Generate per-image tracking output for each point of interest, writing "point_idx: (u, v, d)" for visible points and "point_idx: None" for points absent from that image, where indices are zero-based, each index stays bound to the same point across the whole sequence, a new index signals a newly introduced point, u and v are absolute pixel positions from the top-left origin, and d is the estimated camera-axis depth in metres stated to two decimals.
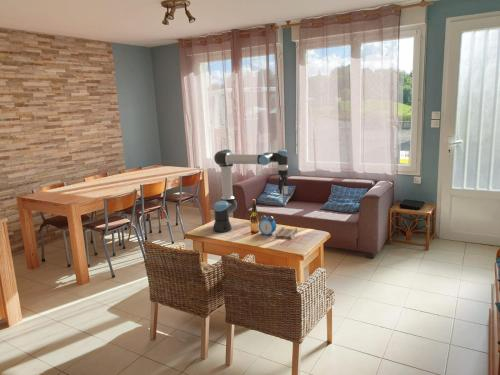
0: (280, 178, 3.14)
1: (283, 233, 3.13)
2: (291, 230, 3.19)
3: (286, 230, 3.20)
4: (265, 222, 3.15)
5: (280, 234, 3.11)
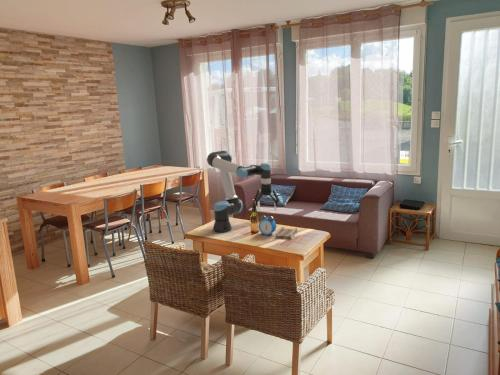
0: None
1: (283, 233, 3.13)
2: (291, 230, 3.19)
3: (286, 230, 3.20)
4: (265, 222, 3.15)
5: (280, 234, 3.11)
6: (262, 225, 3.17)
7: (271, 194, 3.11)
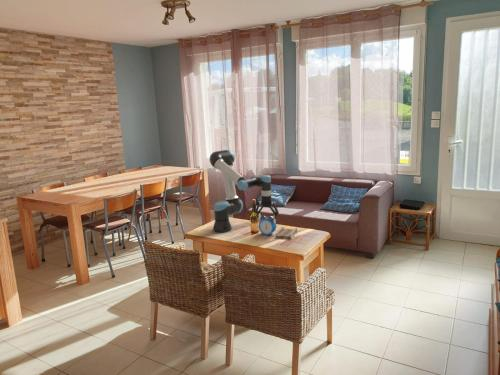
0: None
1: (283, 233, 3.13)
2: (291, 230, 3.19)
3: (286, 230, 3.20)
4: (265, 222, 3.15)
5: (280, 234, 3.11)
6: (262, 225, 3.17)
7: (271, 206, 3.13)
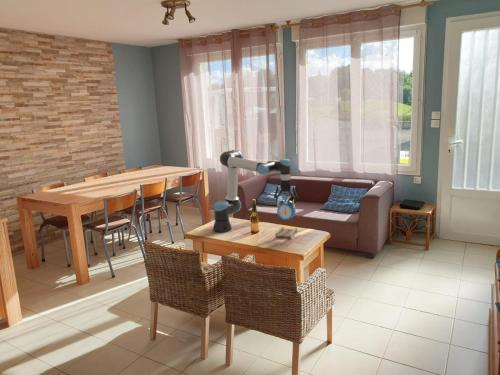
0: None
1: (283, 233, 3.13)
2: (291, 230, 3.19)
3: (286, 230, 3.20)
4: (284, 207, 3.09)
5: (280, 234, 3.11)
6: (281, 210, 3.11)
7: (290, 191, 3.07)
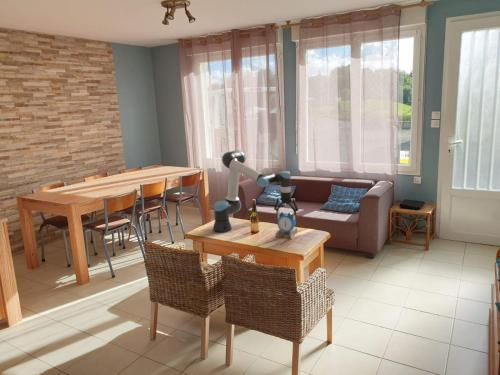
0: None
1: (283, 233, 3.13)
2: (291, 230, 3.19)
3: None
4: (284, 219, 3.11)
5: (280, 234, 3.11)
6: (281, 222, 3.12)
7: (290, 203, 3.09)
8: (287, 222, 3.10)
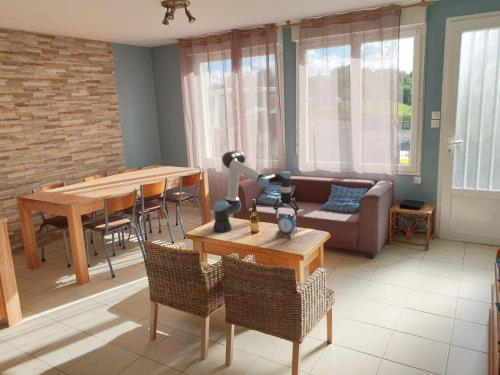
0: None
1: (283, 233, 3.13)
2: None
3: None
4: (285, 220, 3.11)
5: (280, 234, 3.11)
6: (282, 223, 3.13)
7: (291, 203, 3.09)
8: (287, 223, 3.10)
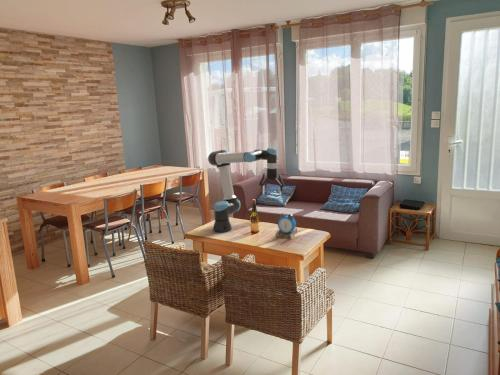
0: None
1: (283, 233, 3.13)
2: None
3: None
4: (285, 220, 3.11)
5: (280, 234, 3.11)
6: (282, 223, 3.13)
7: (276, 179, 3.13)
8: (287, 223, 3.10)
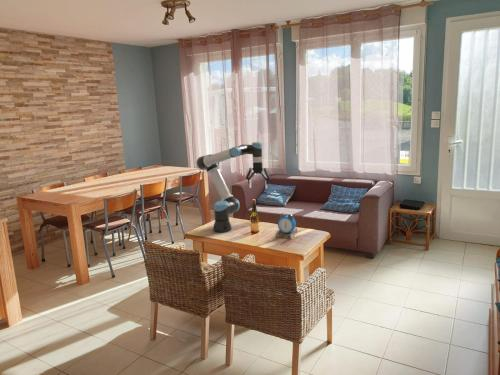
0: None
1: (283, 233, 3.13)
2: None
3: None
4: (285, 220, 3.11)
5: (280, 234, 3.11)
6: (282, 223, 3.13)
7: (262, 172, 3.21)
8: (287, 223, 3.10)
